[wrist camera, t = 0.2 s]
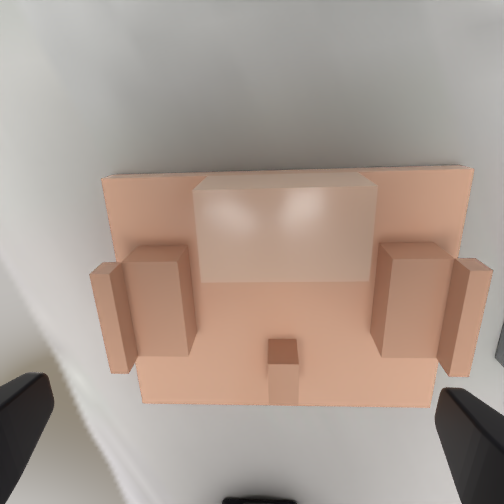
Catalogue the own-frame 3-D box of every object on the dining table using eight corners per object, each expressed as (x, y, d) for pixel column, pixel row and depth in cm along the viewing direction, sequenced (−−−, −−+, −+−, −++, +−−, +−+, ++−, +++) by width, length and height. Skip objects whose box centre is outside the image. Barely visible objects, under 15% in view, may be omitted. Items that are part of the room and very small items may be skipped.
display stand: (421, 391, 25) (458, 461, 20) (149, 388, 27) (120, 452, 22) (460, 164, 20) (525, 182, 15) (112, 174, 21) (60, 193, 16)
